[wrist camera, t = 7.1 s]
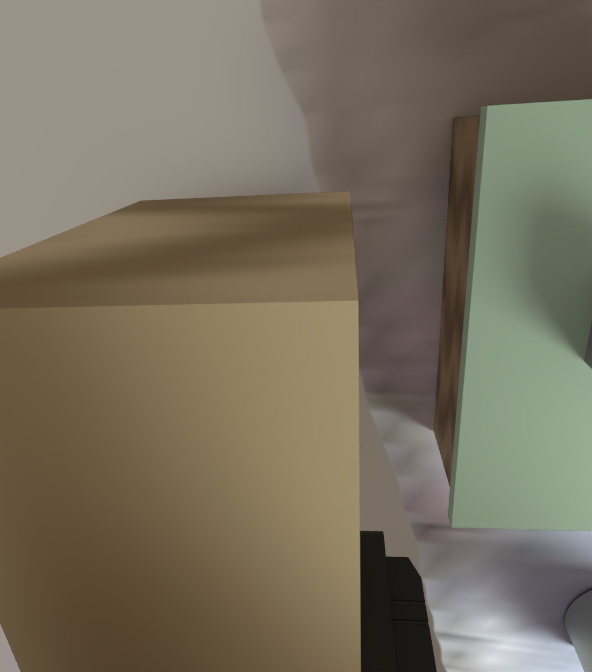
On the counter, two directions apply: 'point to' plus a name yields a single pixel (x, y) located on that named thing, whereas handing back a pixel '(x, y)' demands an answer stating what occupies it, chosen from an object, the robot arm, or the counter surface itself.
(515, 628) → the counter surface
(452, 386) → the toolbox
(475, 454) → the lid
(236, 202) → the tan block
